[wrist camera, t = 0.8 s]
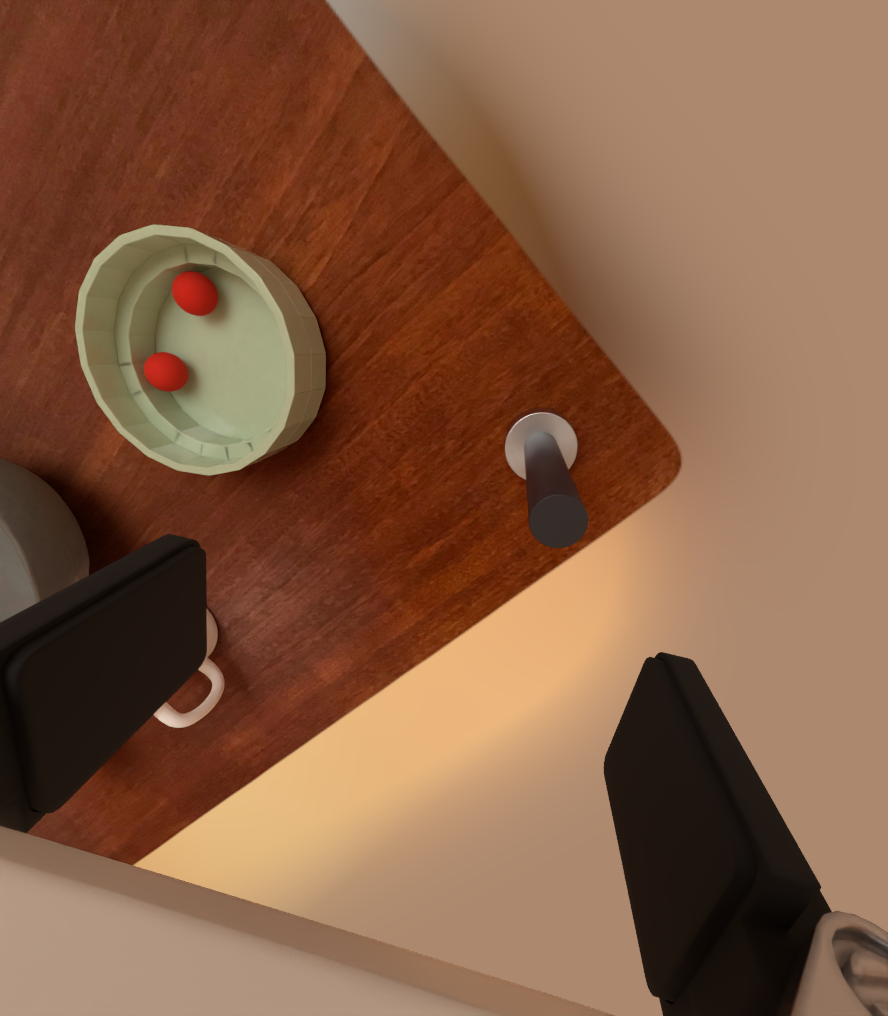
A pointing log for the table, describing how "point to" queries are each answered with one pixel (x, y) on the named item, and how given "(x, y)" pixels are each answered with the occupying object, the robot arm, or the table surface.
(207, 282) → the tomato
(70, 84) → the table surface
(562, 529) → the dark post
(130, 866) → the robot arm
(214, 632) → the cup
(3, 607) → the bowl
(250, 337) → the mixing bowl
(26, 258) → the table surface
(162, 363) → the tomato
